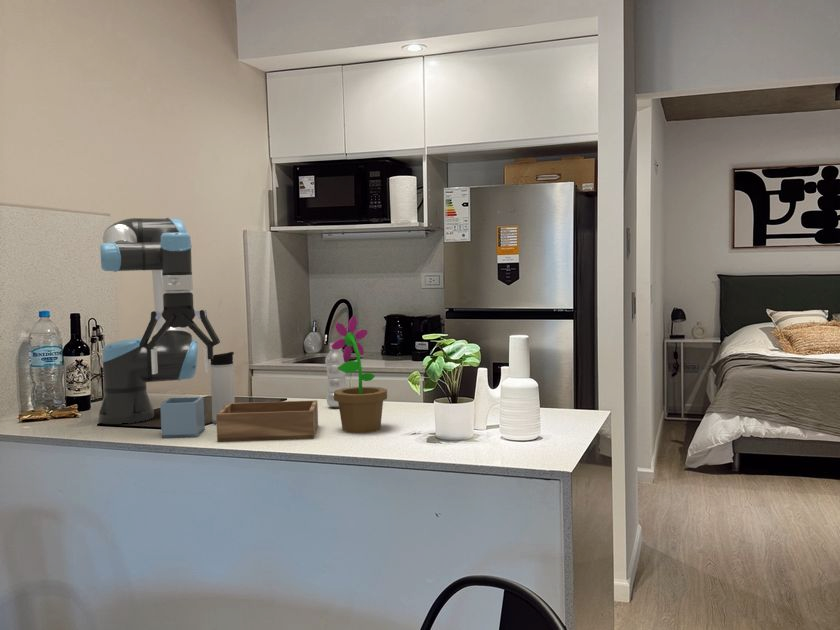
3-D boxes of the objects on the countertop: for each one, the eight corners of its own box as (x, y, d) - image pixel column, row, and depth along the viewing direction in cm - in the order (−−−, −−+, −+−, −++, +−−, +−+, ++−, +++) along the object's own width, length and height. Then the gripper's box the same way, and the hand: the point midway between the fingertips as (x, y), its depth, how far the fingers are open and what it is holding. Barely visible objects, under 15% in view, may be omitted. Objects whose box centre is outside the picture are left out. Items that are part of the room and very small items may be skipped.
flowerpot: (364, 421, 216) (361, 314, 214) (399, 428, 206) (397, 316, 204) (323, 429, 206) (320, 317, 204) (358, 437, 196) (355, 319, 194)
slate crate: (170, 430, 208) (169, 397, 208) (204, 429, 209) (203, 396, 208) (161, 438, 199) (160, 403, 199) (197, 437, 200) (195, 402, 199)
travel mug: (230, 424, 215) (227, 353, 213) (208, 424, 216) (205, 353, 215) (240, 420, 221) (237, 350, 219) (218, 419, 222) (216, 350, 221)
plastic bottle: (347, 409, 235) (345, 343, 234) (325, 409, 235) (323, 344, 234) (349, 405, 241) (347, 341, 240) (328, 405, 241) (326, 342, 240)
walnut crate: (229, 428, 210) (228, 403, 209) (318, 425, 211) (317, 400, 210) (217, 441, 194) (216, 414, 193) (313, 438, 195) (312, 411, 195)
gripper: (124, 293, 197) (128, 376, 198) (223, 291, 198) (226, 373, 200) (133, 293, 205) (137, 372, 206) (228, 290, 206) (231, 369, 207)
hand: (181, 372), depth 203 cm, fingers open, 13 cm apart
